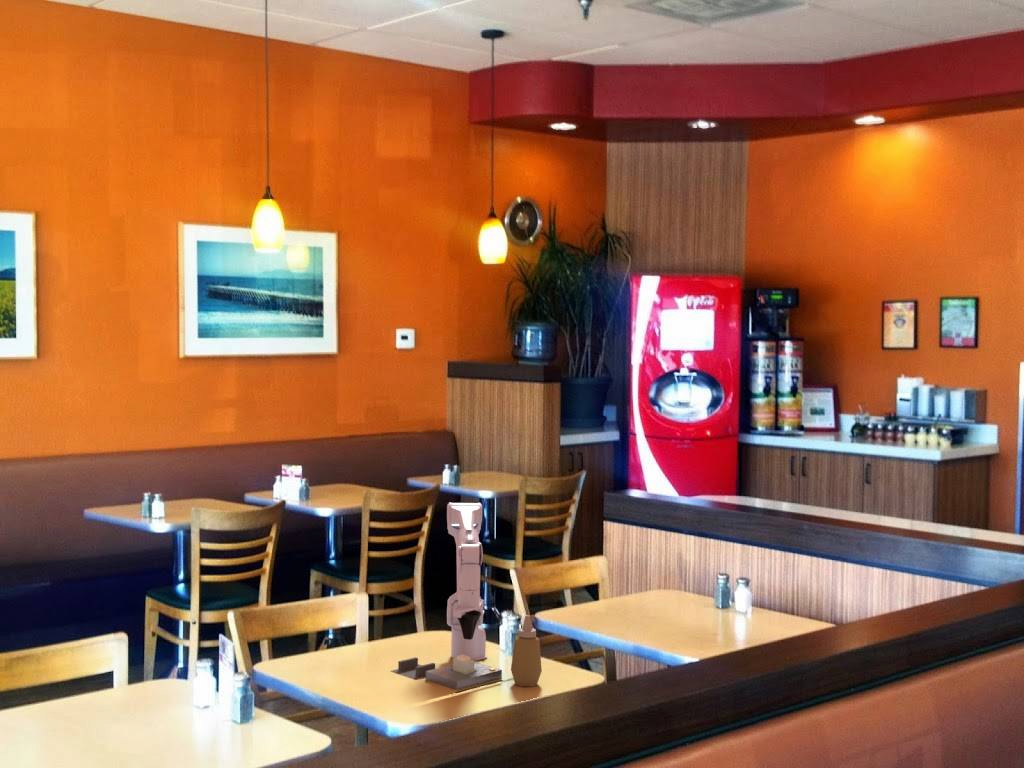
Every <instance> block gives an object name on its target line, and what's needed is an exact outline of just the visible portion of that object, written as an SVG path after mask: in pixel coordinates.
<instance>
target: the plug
mask: <svg viewBox="0 0 1024 768" xmlns="http://www.w3.org/2000/svg"><path fill="white" fill-rule="evenodd" d="M474 661H475V659H470V657H469V656H466V655H459V656H457V658H452V665H453V671H456V672H460V673H463V674H466V675H467V674H471V673H474Z"/></svg>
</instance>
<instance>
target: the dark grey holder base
mask: <svg viewBox="0 0 1024 768" xmlns="http://www.w3.org/2000/svg"><path fill="white" fill-rule="evenodd" d="M397 663H398V666H397V667H398V668H397V669H393V670H390V672H392V673H394V674H398V675H401V676H403V677H406V678H409V679H411V680H418V679H423V678H426V671H429V670H433V669H436V663H435V662H431V663H426V664H422V665H421V664H419V657H416V656H415V657H411V658H406V659H402V660H398V662H397Z"/></svg>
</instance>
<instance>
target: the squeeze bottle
mask: <svg viewBox="0 0 1024 768" xmlns="http://www.w3.org/2000/svg"><path fill="white" fill-rule="evenodd" d="M517 630H518V633H517V634H518V635H517V636H516V637H515V638H514V642H513V647H512V648H513V649H512V655H511V656H512V657H511V665H510V671H511V674H512V679H513V681H514V684H515V685H516V686H519V687H525V686H526V687H534V686H537V685H538V682H539V680H540V678H541V674H542V670H543V669H542V668H543V667H542V658H541V645H540V644H541V643H540V638H538V637H537V630H536V628H534V627H533V625H532V620H531V616H530V615H525V616H524V619H523V624H522V627H520V628H518V629H517Z"/></svg>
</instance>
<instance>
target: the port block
mask: <svg viewBox="0 0 1024 768" xmlns="http://www.w3.org/2000/svg"><path fill="white" fill-rule="evenodd" d="M502 677H503V670H502V669H500V668H497V667H493V666H492V665H487V664H484V663H480V662H477V661H476V660H474V673H471V674H467V675H466V674H463V673H460V672H456V671H453V664H450V665H446V666H441V667H438V668H437V667H436V668H435V669H433V670H429V671H426V677H425V681H428V682H432V683H433V684H438V685H440V686H443V687H446V688H450V689H452V690H456V691H455V692H454V693H456V694H460V693H462V692H463V693H464V692H466V691H470V690H475V689H478V688H481V687H485V686H488V685H492V684H496V683H499V682H502V681H503V680H502ZM488 682H489V683H488ZM477 685H478V686H477Z"/></svg>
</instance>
